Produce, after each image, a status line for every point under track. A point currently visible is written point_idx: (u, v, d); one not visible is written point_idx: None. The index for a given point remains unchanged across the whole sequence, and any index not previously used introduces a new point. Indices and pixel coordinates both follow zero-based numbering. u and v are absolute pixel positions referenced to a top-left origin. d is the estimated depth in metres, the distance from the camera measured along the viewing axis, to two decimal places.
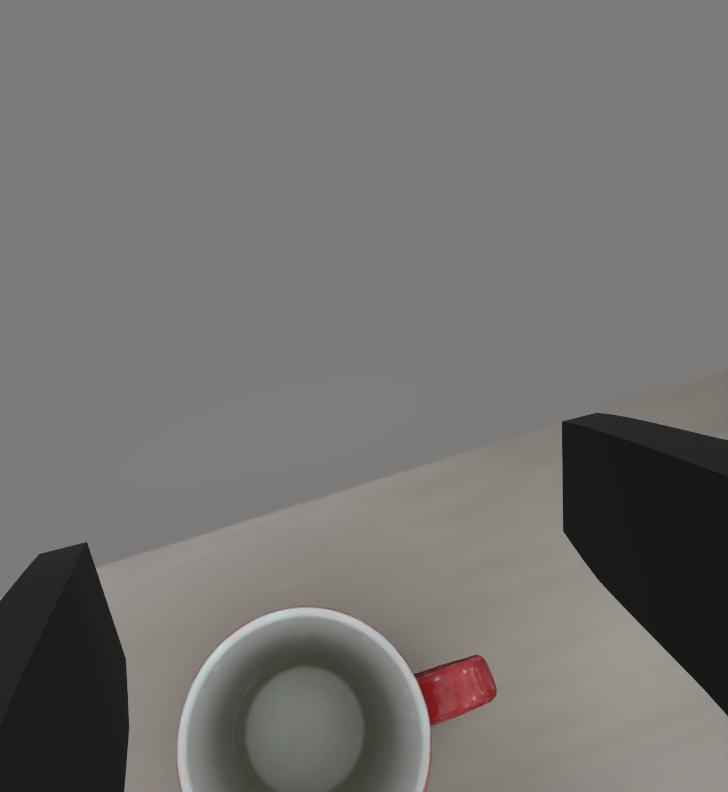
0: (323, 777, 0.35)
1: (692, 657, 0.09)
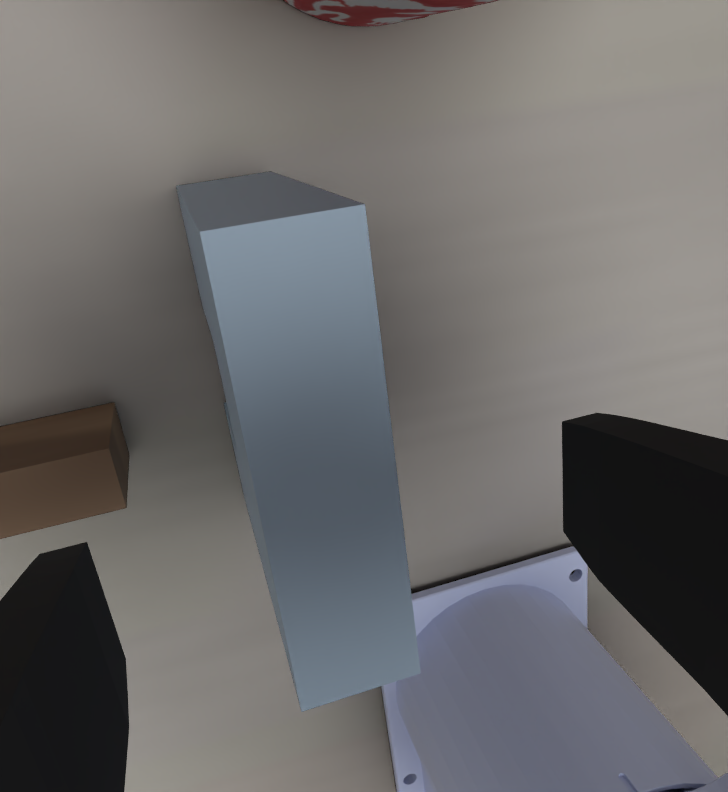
0: None
1: (692, 657, 0.09)
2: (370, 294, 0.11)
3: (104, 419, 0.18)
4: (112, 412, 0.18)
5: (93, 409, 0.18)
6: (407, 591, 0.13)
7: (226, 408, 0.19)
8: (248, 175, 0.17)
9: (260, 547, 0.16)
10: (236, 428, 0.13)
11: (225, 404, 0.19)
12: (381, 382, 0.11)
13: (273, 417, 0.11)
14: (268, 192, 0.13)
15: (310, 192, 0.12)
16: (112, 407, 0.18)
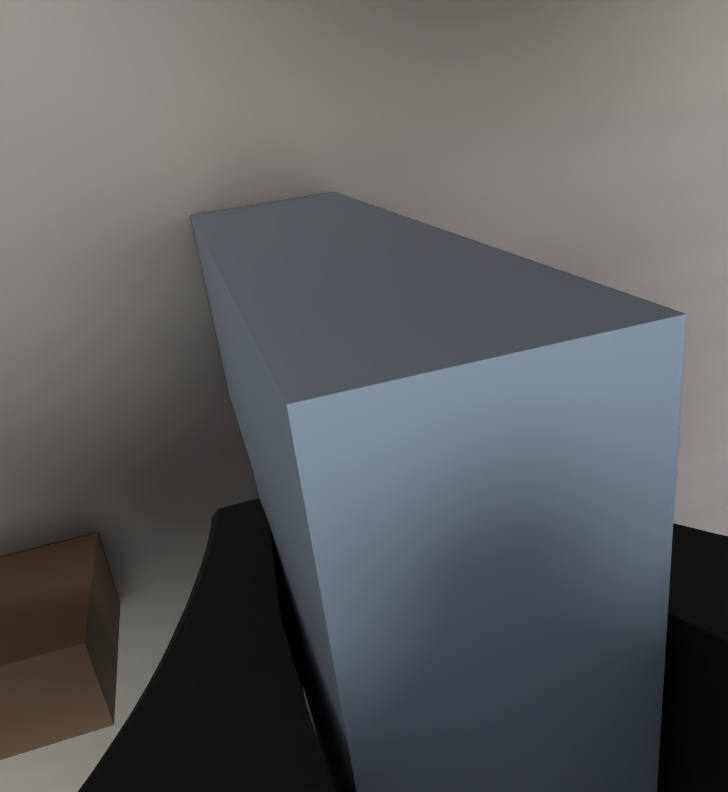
0: None
1: None
2: (662, 510, 0.05)
3: (80, 571, 0.12)
4: (94, 554, 0.12)
5: (66, 546, 0.12)
6: None
7: None
8: (301, 198, 0.11)
9: None
10: (310, 678, 0.07)
11: None
12: (654, 681, 0.05)
13: (428, 777, 0.05)
14: (370, 245, 0.07)
15: (466, 252, 0.06)
16: (94, 544, 0.12)
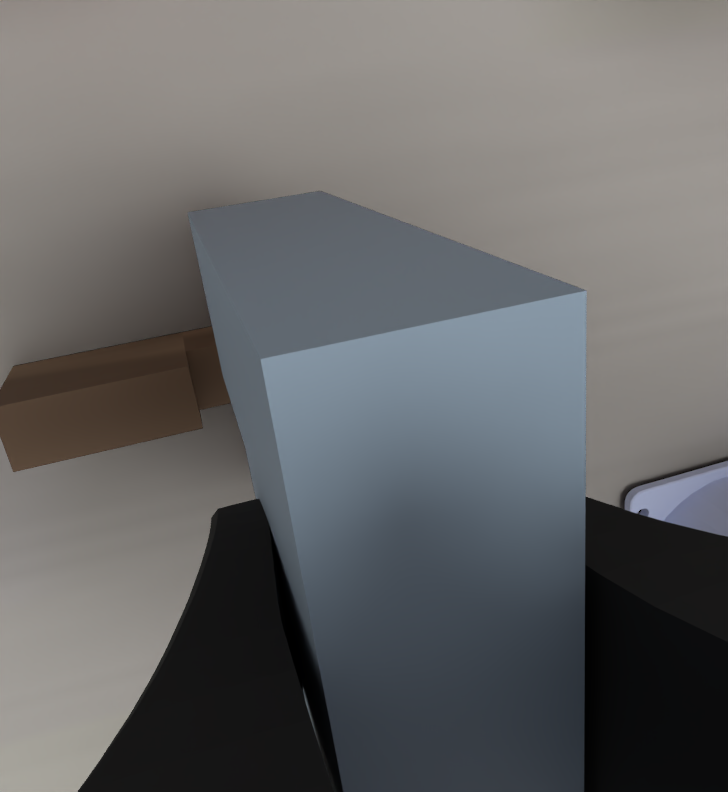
0: None
1: None
2: (575, 455, 0.06)
3: None
4: None
5: None
6: None
7: None
8: (290, 197, 0.12)
9: None
10: (292, 620, 0.08)
11: None
12: (575, 603, 0.06)
13: (385, 679, 0.06)
14: (345, 238, 0.08)
15: (425, 243, 0.07)
16: None
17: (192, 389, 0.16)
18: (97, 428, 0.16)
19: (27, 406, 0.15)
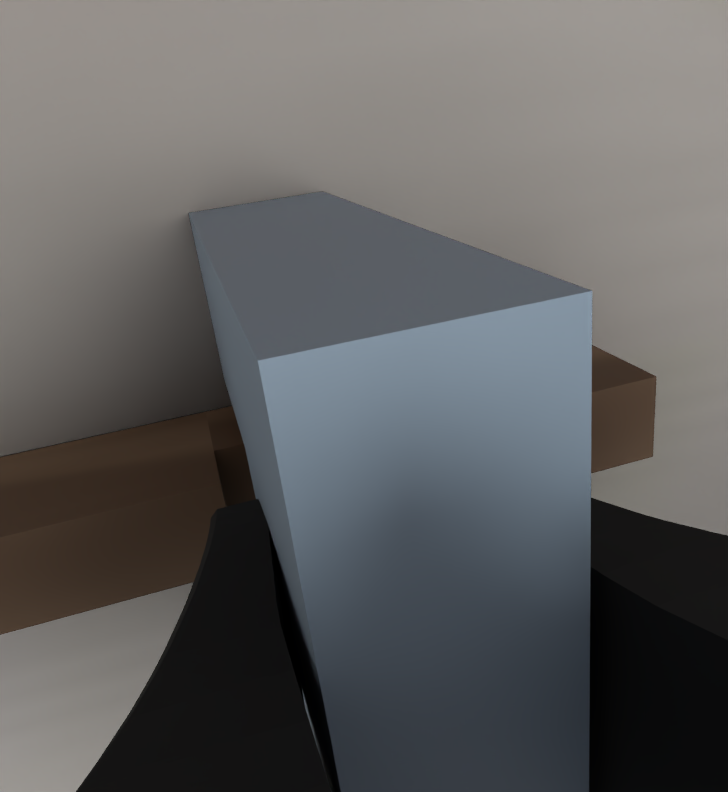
0: None
1: None
2: (581, 459, 0.05)
3: None
4: None
5: None
6: None
7: None
8: (291, 197, 0.12)
9: None
10: (292, 626, 0.08)
11: None
12: (581, 611, 0.06)
13: (386, 688, 0.06)
14: (347, 238, 0.08)
15: (428, 243, 0.07)
16: None
17: None
18: (82, 578, 0.11)
19: None
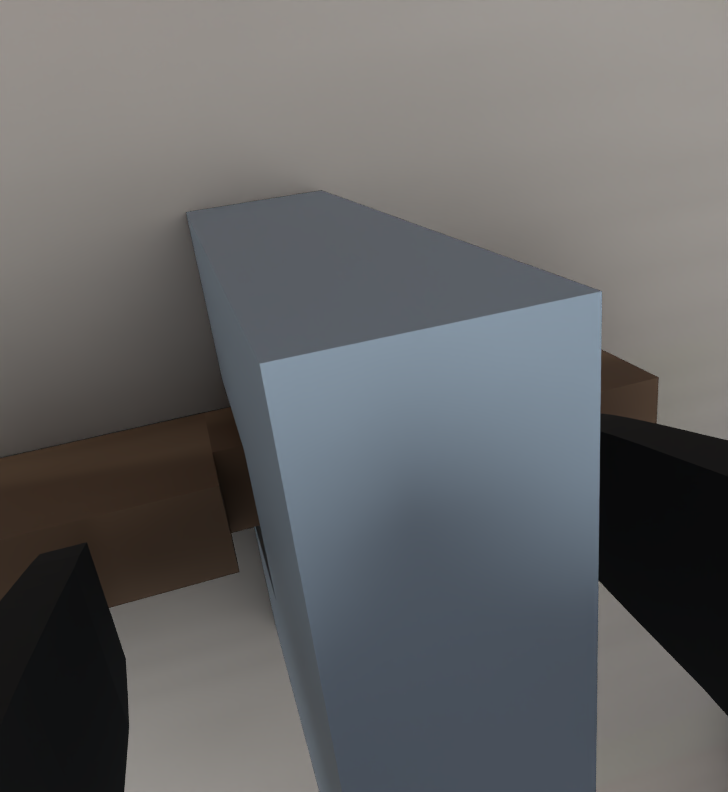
0: None
1: (692, 657, 0.09)
2: (589, 463, 0.05)
3: None
4: None
5: None
6: None
7: None
8: (290, 196, 0.12)
9: (316, 767, 0.10)
10: (293, 631, 0.08)
11: None
12: (589, 616, 0.06)
13: (390, 696, 0.06)
14: (347, 237, 0.08)
15: (431, 242, 0.07)
16: None
17: (225, 517, 0.11)
18: None
19: None
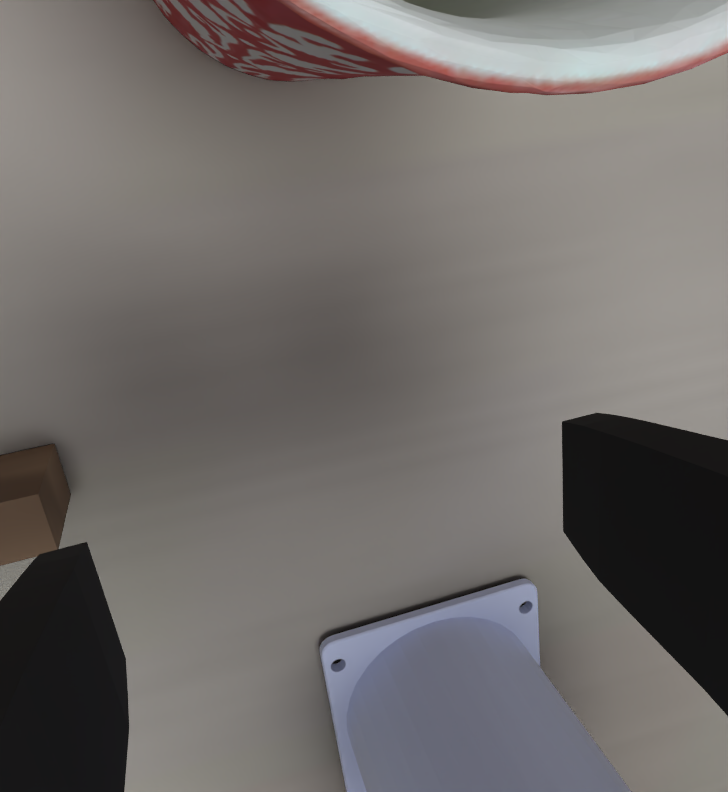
0: None
1: (692, 657, 0.09)
2: None
3: (40, 462, 0.18)
4: (50, 454, 0.18)
5: (33, 451, 0.19)
6: None
7: None
8: None
9: None
10: None
11: None
12: None
13: None
14: None
15: None
16: (51, 449, 0.19)
17: None
18: None
19: None
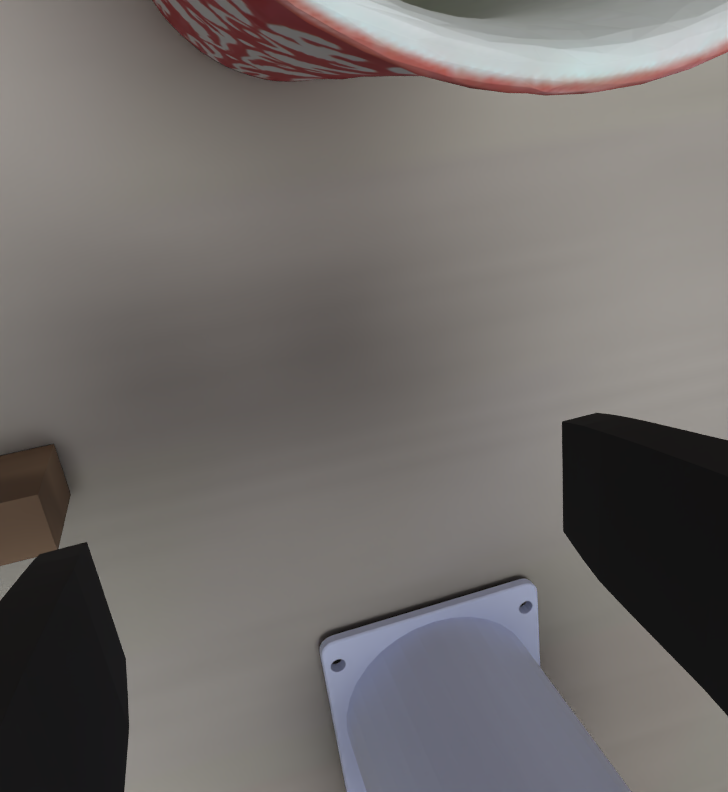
0: None
1: (692, 657, 0.09)
2: None
3: (40, 462, 0.18)
4: (49, 455, 0.18)
5: (32, 451, 0.19)
6: None
7: None
8: None
9: None
10: None
11: None
12: None
13: None
14: None
15: None
16: (51, 449, 0.19)
17: None
18: None
19: None
